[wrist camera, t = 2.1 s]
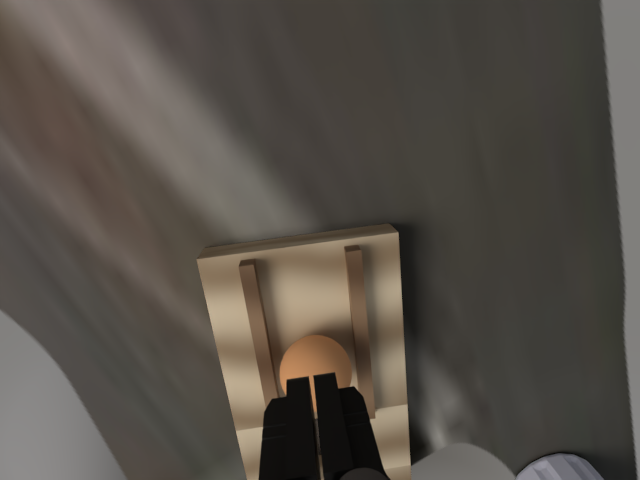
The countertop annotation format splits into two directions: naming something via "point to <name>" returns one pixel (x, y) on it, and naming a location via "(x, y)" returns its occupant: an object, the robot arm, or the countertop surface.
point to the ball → (315, 362)
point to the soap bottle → (559, 469)
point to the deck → (311, 325)
